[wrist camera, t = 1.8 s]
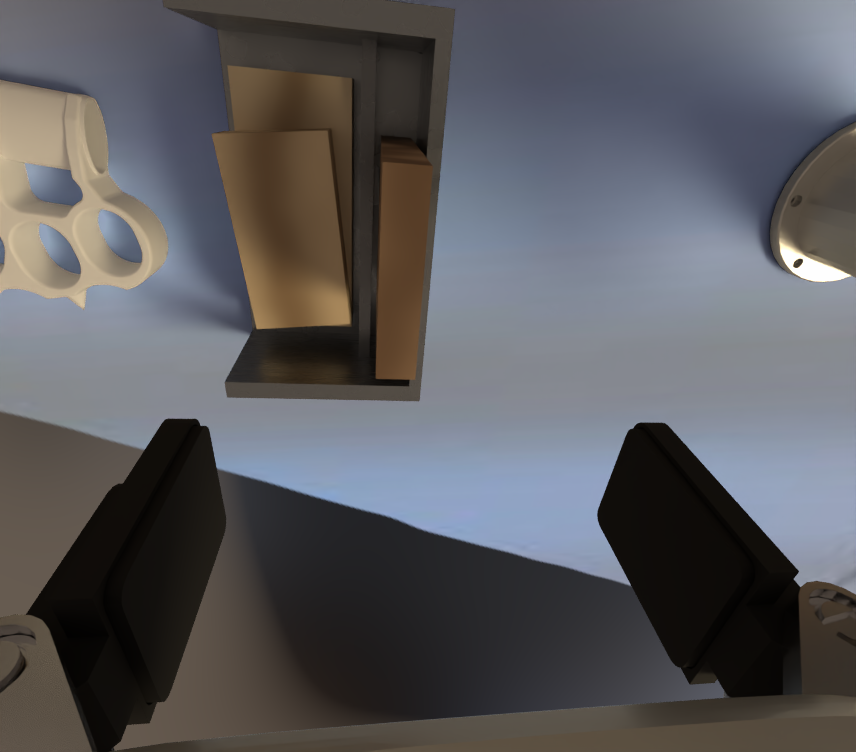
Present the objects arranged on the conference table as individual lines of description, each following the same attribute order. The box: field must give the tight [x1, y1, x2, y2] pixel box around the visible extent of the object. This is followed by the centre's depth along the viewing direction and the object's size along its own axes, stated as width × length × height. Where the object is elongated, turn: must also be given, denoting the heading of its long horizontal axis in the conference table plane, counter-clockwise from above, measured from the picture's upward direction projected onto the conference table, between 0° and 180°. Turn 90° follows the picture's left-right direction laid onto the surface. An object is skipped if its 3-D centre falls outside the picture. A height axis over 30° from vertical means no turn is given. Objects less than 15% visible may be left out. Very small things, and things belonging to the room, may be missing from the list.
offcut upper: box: [212, 128, 352, 329], centre depth 30 cm, size 6×12×2 cm, turn 1°
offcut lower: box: [227, 65, 354, 327], centre depth 32 cm, size 7×16×2 cm, turn 175°
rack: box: [163, 0, 455, 401], centre depth 30 cm, size 13×22×9 cm, turn 175°
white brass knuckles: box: [0, 80, 168, 310], centre depth 31 cm, size 3×18×15 cm
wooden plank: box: [376, 135, 433, 380], centre depth 27 cm, size 2×10×15 cm, turn 175°
